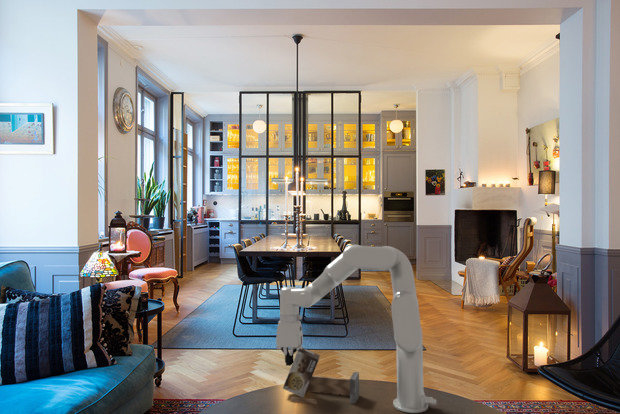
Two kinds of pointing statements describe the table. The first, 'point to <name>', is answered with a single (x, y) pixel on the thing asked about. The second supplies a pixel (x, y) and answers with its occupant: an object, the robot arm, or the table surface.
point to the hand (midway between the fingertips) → (289, 364)
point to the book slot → (332, 387)
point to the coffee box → (301, 372)
